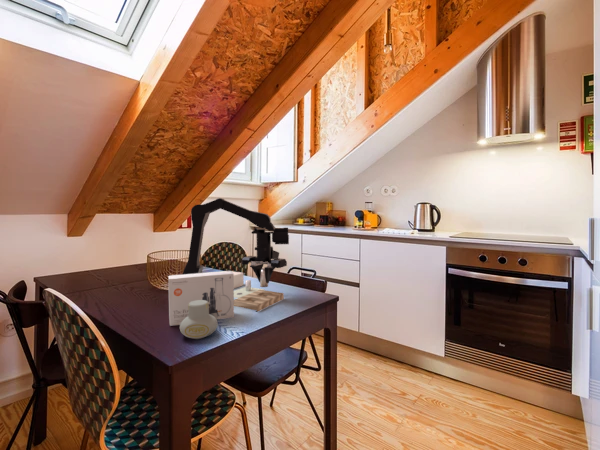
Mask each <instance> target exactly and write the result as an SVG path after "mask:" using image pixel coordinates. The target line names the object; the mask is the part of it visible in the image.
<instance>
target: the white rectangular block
mask: <svg viewBox="0 0 600 450" xmlns="http://www.w3.org/2000/svg"><path fill="white" fill-rule="evenodd" d="M232 272H233V273H234V289H236V288H239V287H242V286H244V272H239V271H232Z"/></svg>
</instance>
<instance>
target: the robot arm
mask: <svg viewBox="0 0 600 450" xmlns="http://www.w3.org/2000/svg"><path fill="white" fill-rule="evenodd" d="M190 210H191V211H190V212H191V213H190V217H191V223H192V230H191V238H190V245H189V253H188V258H187V259H188V260H187V263H186V264H185V267H184V269H183V271H182V274H181V275H183V274H196V273H203V269H204V265H202V264H201V262H200V258H201V251H202V245H203V237H204V233H205V232H204V231H205V227H206V225H207V222H208V220H209V217H210V214H212V213H214V212H216V211H218V210H223V211H225V212H228V213H231V214H233V215H235V216H238V217H240V218H243V219H246V220H247V221H248V222H250V223H251V224H253V225H254V226H256V227H254V228H253V230H251V234H254V235H256V246H255V247H254V251H256V255H246V256H244V257H242V259H241V265H245V266H246V265H247V266H248V265H249V264H250V265H249V267H250V268H251V269H252V271H253V272H254V274H255V276H256V278H257V279H258V282H259V283H260V269H265V277H266V283H268V284H269V283H270V282H271V281H270V280H271V277H272V275H273V272H274V270H276V269H281V268H284V267H287V266H288V265H287V264H288V263H287V259H286V258H280V257H279V256H280V252H279V251H276V250H274V247H273V246H272V245H271V243H274V245H289V244H290V242H289V241H290V240H289V239H290V235H289V227H275V225H274V224H273V223H272V221H271V219H272V218H271V216H270V215H269V214H268V213H264V212H260V211H255V210H254V211H253V210H250V209H248V208H245V207H242V206H240V205H237V204H235V203H233V202H231V201H228V200H226V199H224V198H221V197H220V198H219V197H218V198H216V199H215V200H211V201H209V202H206V203H203V204H202V203H201V204H195V205H193V206H192V208H191V209H190ZM259 228H260V229H259ZM266 230H267V231H266ZM264 265H267V266H265V267H264ZM263 267H264V268H263Z"/></svg>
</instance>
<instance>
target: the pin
mask: <svg viewBox="0 0 600 450" xmlns="http://www.w3.org/2000/svg"><path fill="white" fill-rule="evenodd" d="M259 283H260V285H259V286H260V287H261V288H268V287H269V283H266V277H265V269H264V268H262V269H260V282H259Z"/></svg>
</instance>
